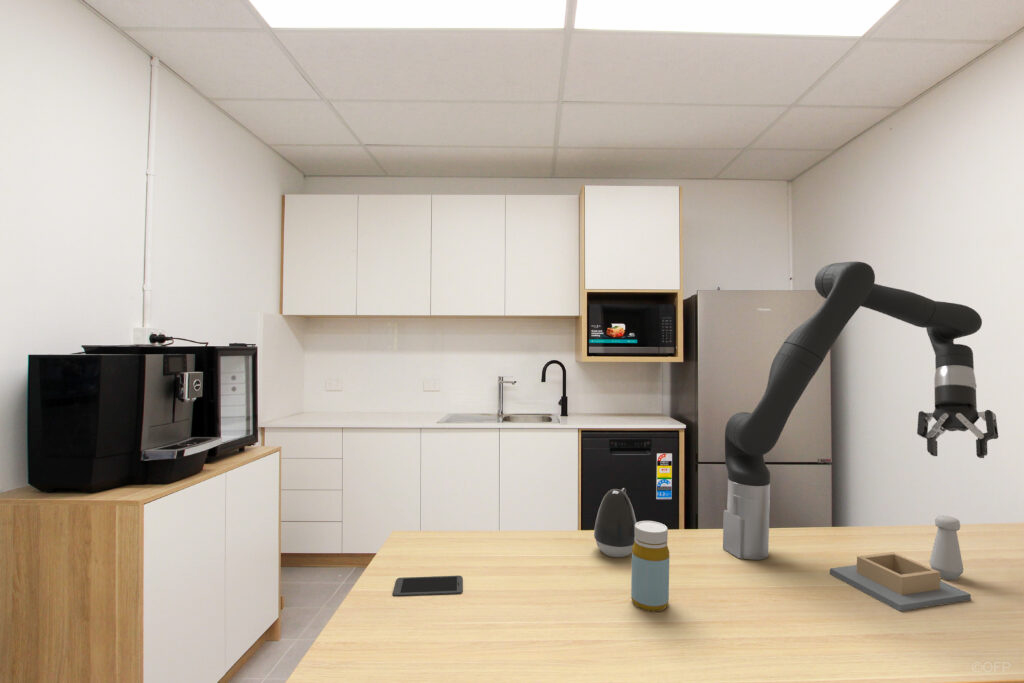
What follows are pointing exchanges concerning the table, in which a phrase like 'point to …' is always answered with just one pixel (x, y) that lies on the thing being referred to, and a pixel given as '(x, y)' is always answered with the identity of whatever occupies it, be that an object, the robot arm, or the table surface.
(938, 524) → the salt shaker
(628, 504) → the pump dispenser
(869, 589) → the holder
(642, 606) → the bottle
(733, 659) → the table surface
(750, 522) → the robot arm
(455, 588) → the cell phone
